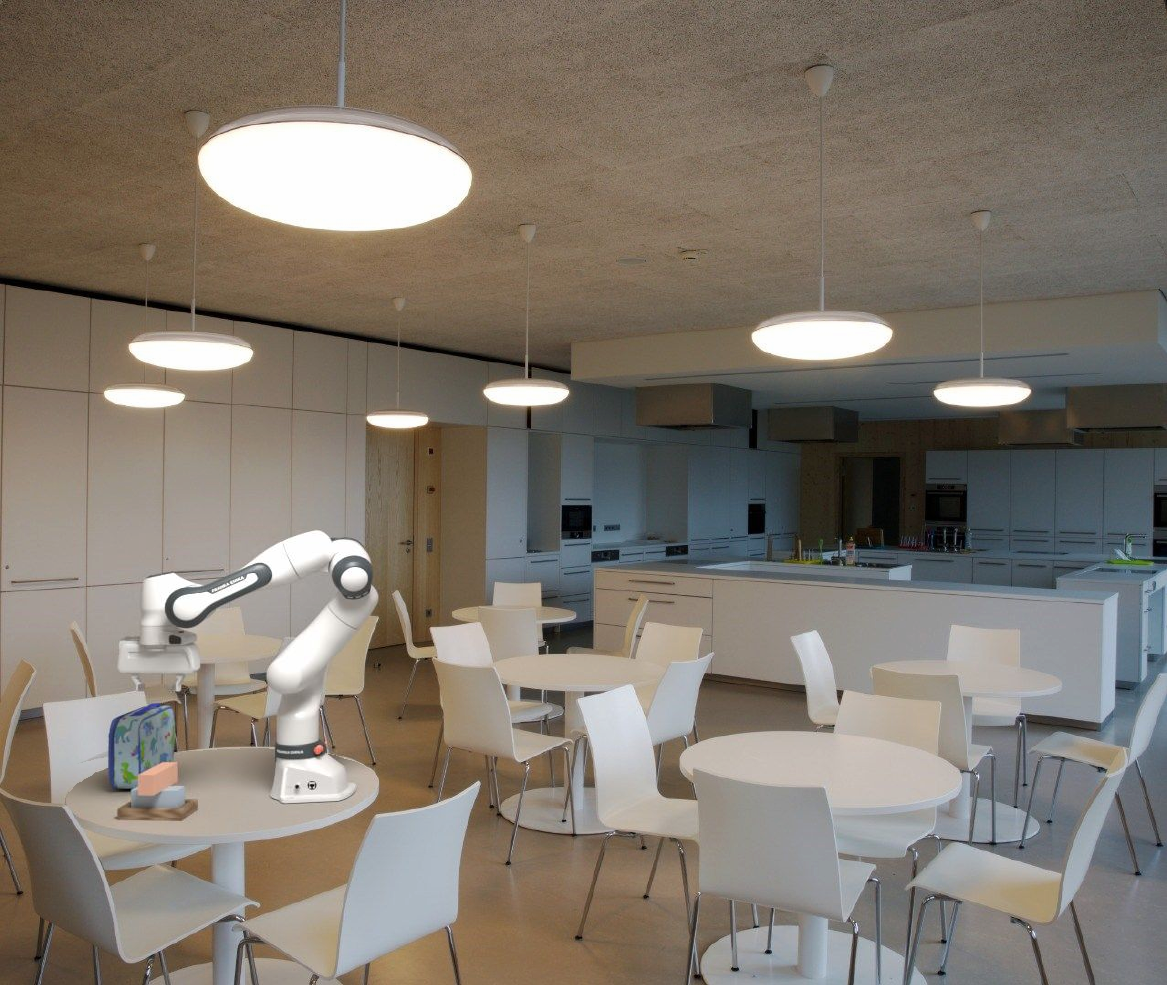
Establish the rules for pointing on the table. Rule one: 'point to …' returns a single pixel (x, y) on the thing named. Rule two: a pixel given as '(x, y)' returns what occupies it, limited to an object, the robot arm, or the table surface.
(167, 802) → the pale blue upright slab
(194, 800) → the jig
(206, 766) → the table surface
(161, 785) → the salmon orange rectangular block
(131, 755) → the lunch box
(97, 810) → the table surface
